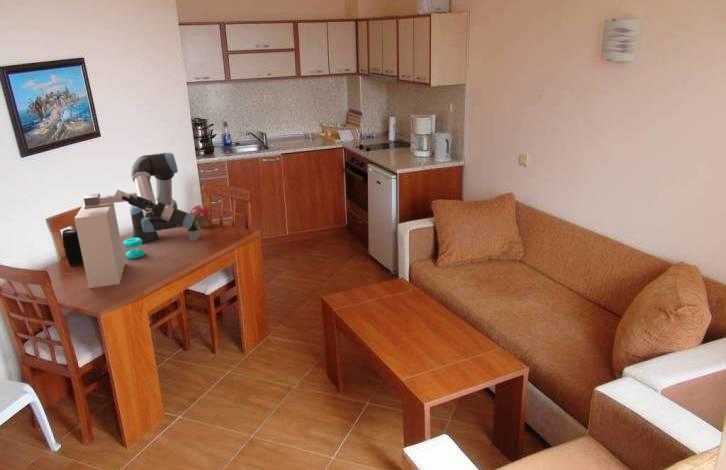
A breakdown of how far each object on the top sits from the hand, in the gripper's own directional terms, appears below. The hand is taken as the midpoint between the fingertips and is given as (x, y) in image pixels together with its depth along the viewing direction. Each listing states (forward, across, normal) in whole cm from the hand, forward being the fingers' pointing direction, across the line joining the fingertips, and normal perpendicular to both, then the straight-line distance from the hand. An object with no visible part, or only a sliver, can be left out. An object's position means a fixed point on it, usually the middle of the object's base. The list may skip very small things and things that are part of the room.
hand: (115, 193), depth 274 cm
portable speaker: (+4, -32, +54) cm, 63 cm away
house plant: (-51, -50, +22) cm, 75 cm away
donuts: (-22, -33, +39) cm, 55 cm away
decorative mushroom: (-55, -74, +20) cm, 94 cm away
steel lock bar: (0, 0, +5) cm, 5 cm away
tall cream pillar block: (-12, -7, +44) cm, 46 cm away
